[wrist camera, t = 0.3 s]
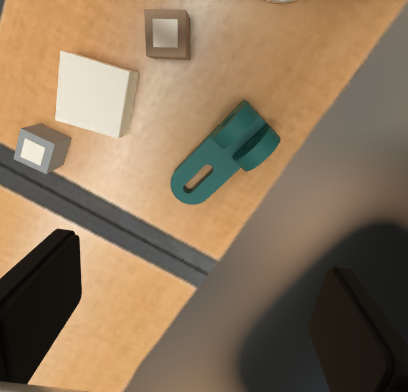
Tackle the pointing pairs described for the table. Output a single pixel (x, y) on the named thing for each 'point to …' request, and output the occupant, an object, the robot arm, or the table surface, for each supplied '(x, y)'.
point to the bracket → (225, 153)
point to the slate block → (42, 148)
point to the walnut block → (167, 34)
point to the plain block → (95, 94)
